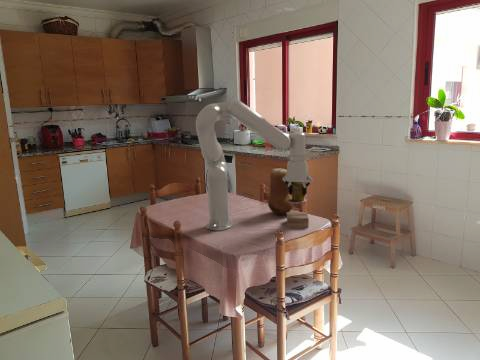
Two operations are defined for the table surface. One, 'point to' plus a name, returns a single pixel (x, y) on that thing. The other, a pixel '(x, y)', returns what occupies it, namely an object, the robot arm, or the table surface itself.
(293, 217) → the beige square block
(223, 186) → the robot arm
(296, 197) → the condiment
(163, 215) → the table surface
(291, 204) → the butternut squash
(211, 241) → the table surface
